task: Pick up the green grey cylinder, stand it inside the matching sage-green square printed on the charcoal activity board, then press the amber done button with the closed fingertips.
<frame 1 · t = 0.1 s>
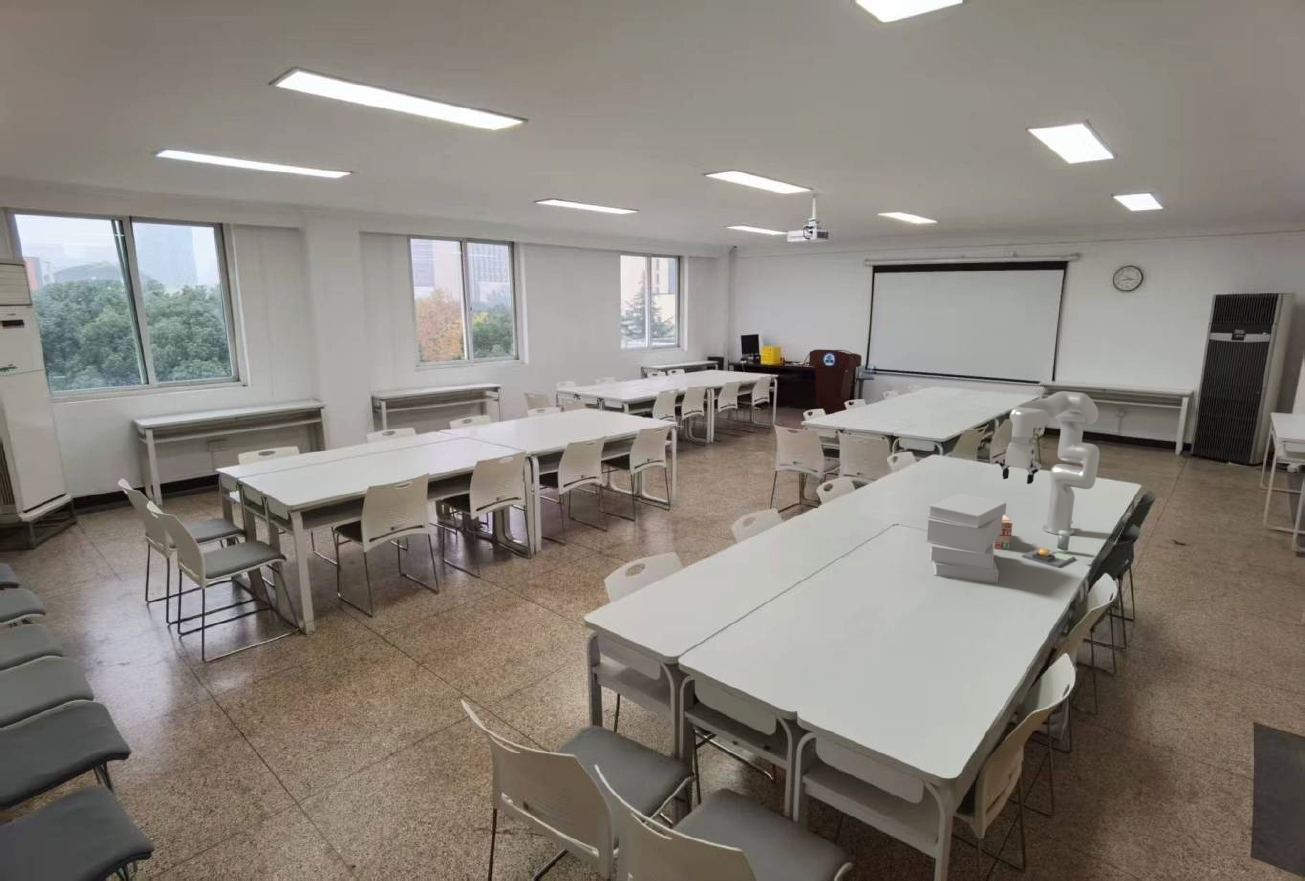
hand: (1017, 481, 271), 31 cm above the table, tool pointing down, fingers open, 9 cm apart
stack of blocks: (994, 541, 291), on the table
board: (1048, 558, 270), on the table
book stack: (961, 564, 265), on the table
green grey cylinder: (1062, 551, 277), on the table
done button: (1044, 552, 267), point 3 cm above the table, slide at 0.0 cm
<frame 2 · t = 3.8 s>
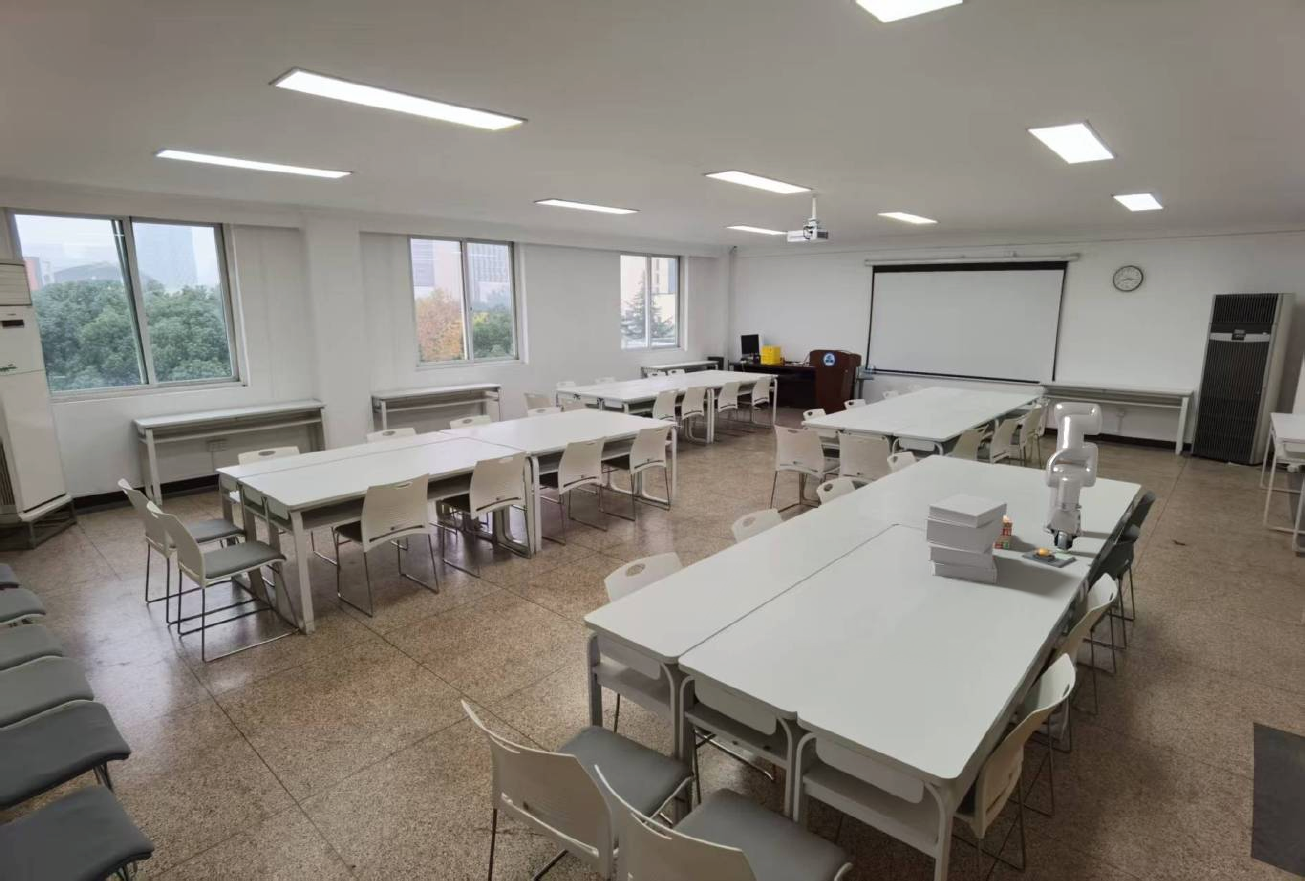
hand: (1062, 546, 277), 2 cm above the table, tool pointing down, fingers closed on green grey cylinder, 3 cm apart
green grey cylinder: (1062, 551, 277), on the table, touching gripper
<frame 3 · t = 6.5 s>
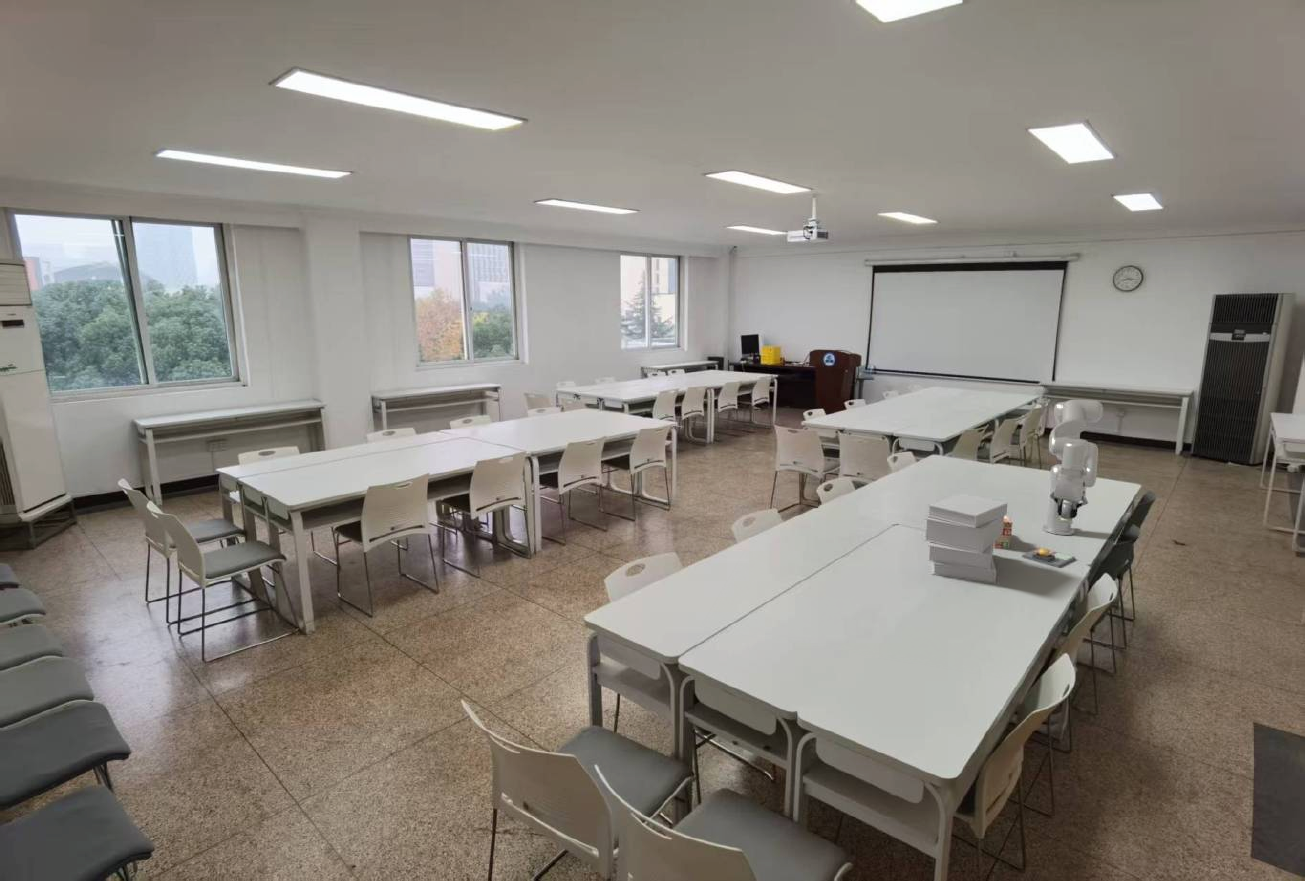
hand: (1066, 515, 266), 18 cm above the table, tool pointing down, fingers closed on green grey cylinder, 3 cm apart
green grey cylinder: (1066, 521, 266), point 16 cm above the table, touching gripper
when the fingers open (4 cm above the table, at t = 9.3 s): green grey cylinder stays where it is, resting on board.
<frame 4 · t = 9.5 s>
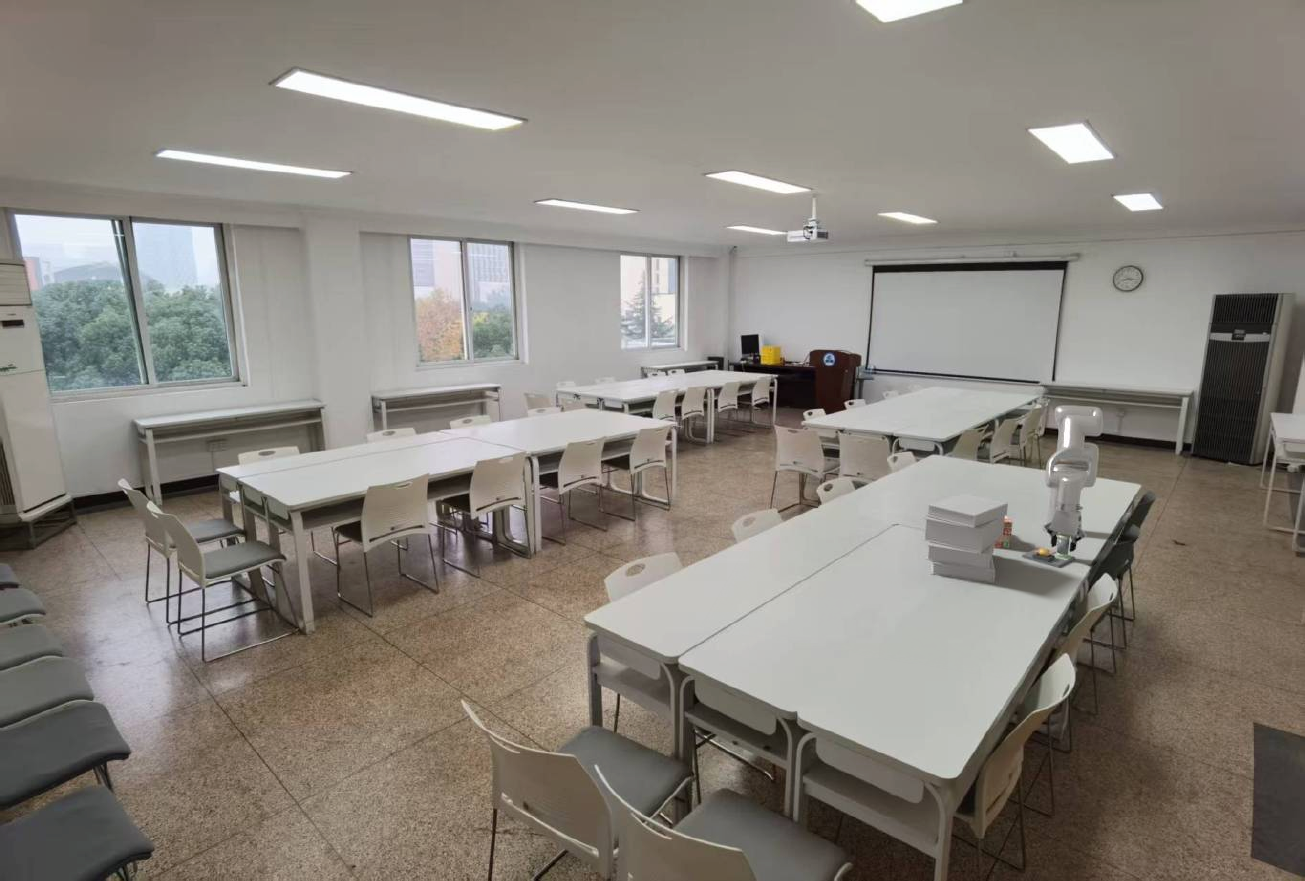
hand: (1062, 548, 269), 5 cm above the table, tool pointing down, fingers open, 6 cm apart
green grey cylinder: (1061, 556, 269), point 1 cm above the table, touching board
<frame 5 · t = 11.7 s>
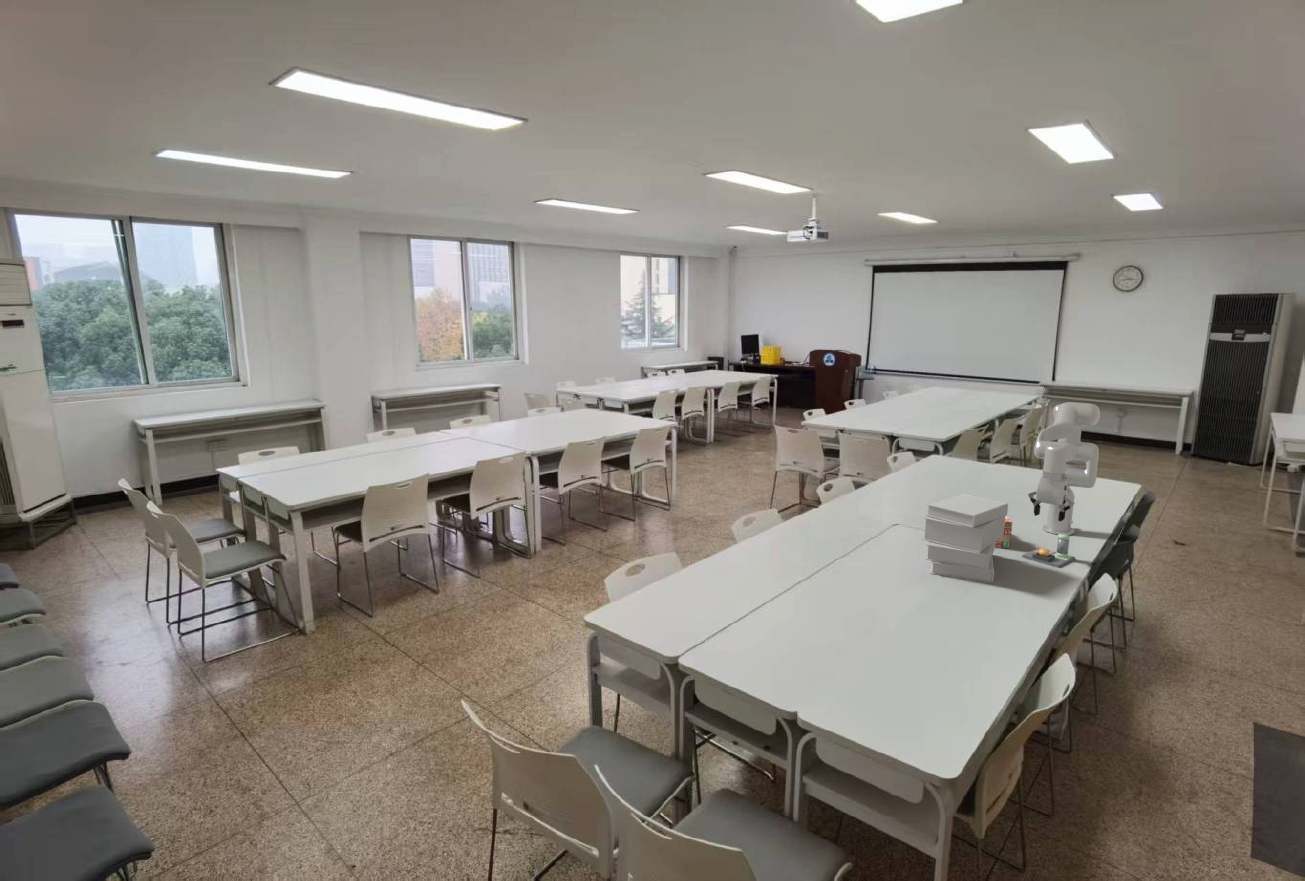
hand: (1048, 517, 264), 18 cm above the table, tool pointing down, fingers open, 8 cm apart
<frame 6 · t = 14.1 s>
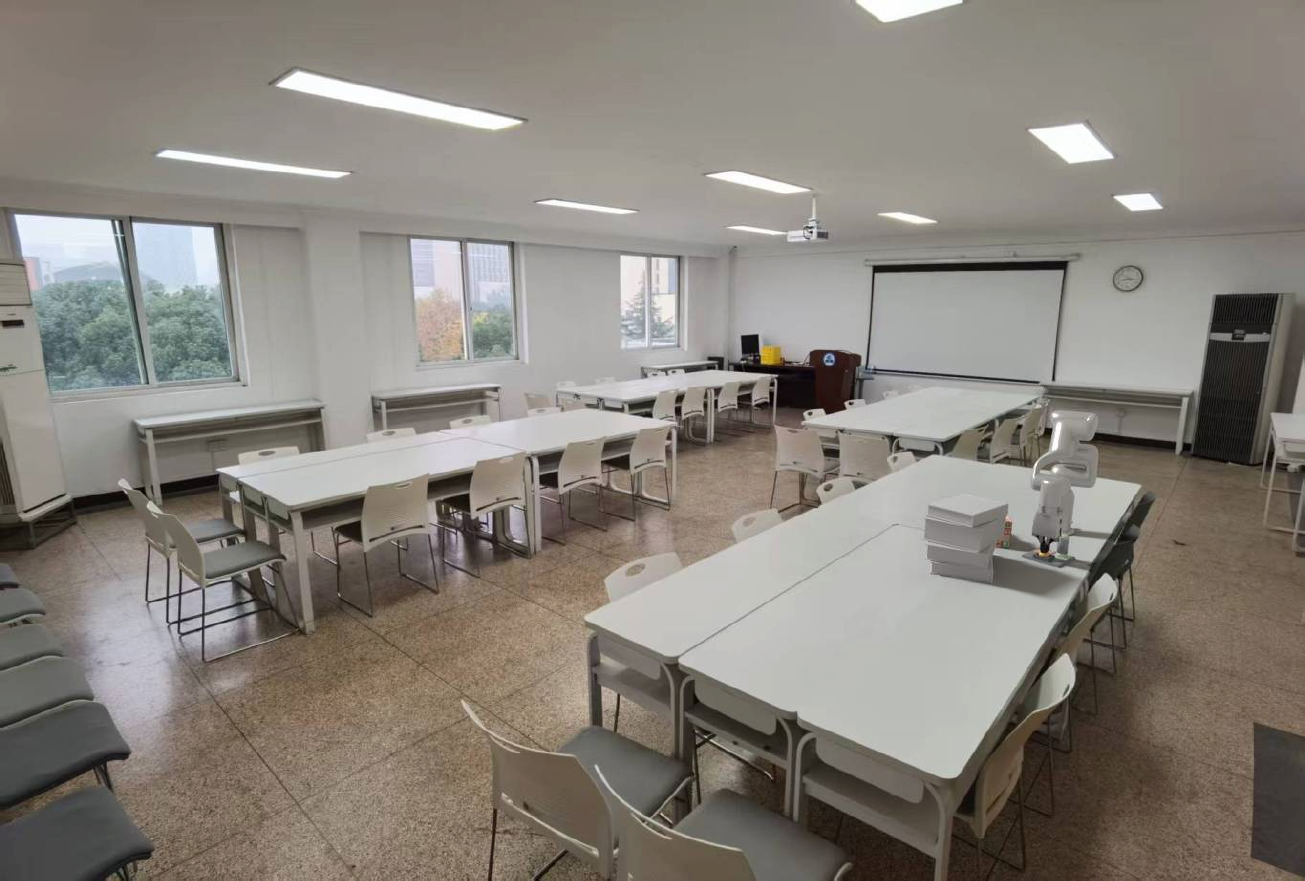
hand: (1044, 552, 267), 4 cm above the table, tool pointing down, fingers closed
done button: (1043, 554, 267), point 3 cm above the table, slide at 0.8 cm, touching gripper
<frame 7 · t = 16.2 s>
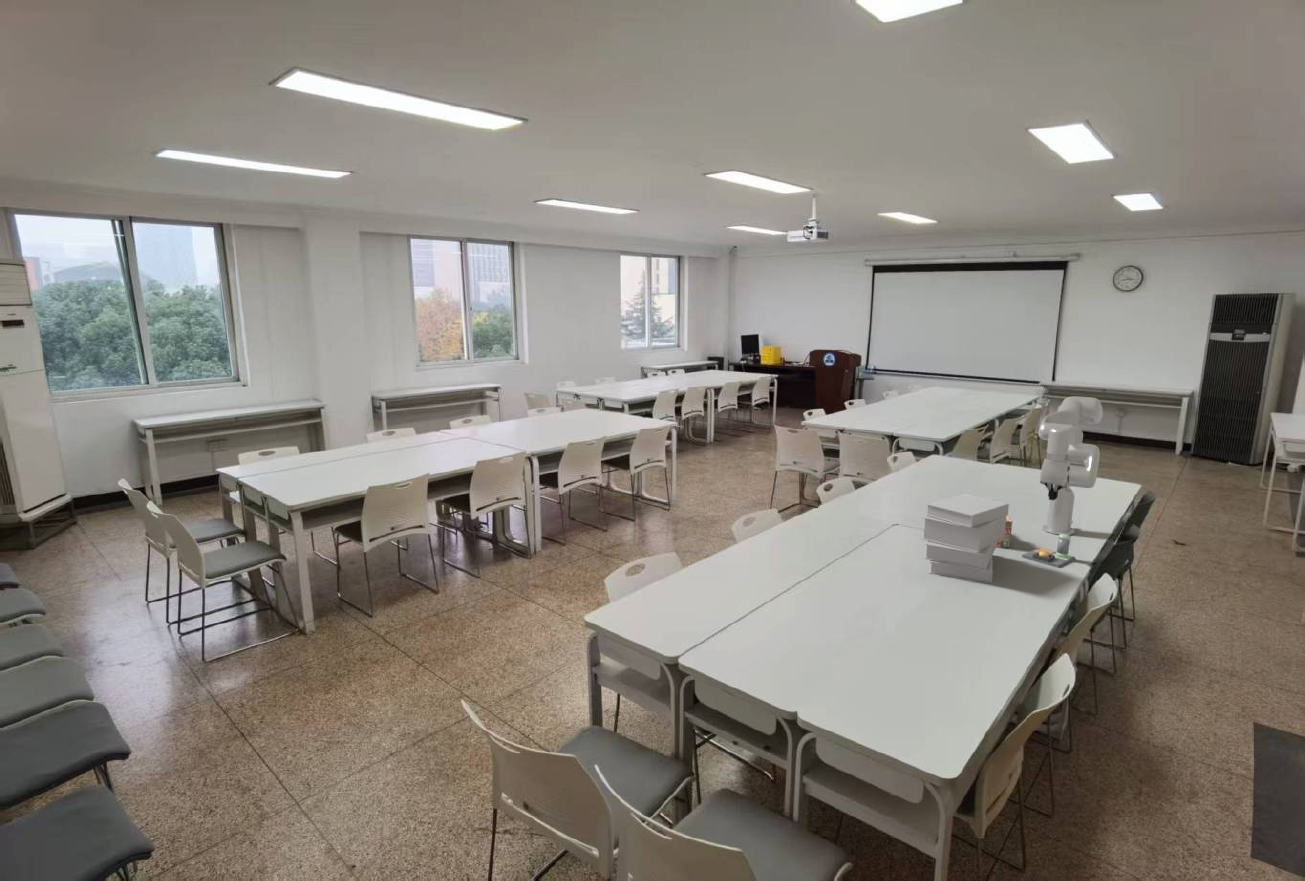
hand: (1052, 499, 275), 23 cm above the table, tool pointing down, fingers closed
done button: (1043, 555, 267), point 2 cm above the table, slide at 1.0 cm
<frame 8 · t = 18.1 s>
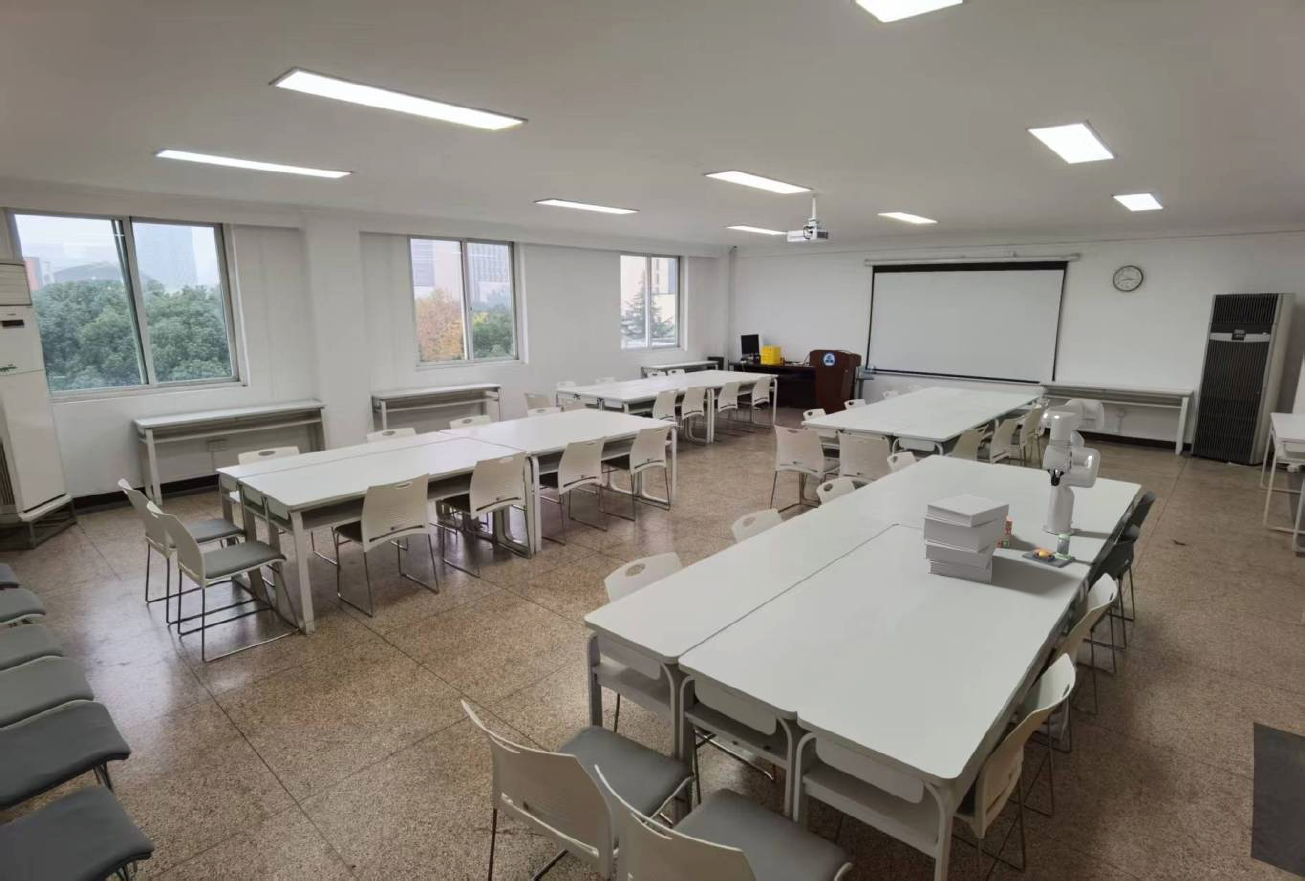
hand: (1054, 485, 279), 27 cm above the table, tool pointing down, fingers closed
at the end: green grey cylinder 0.0 cm from the target spot, point 1.2 cm above the table; green grey cylinder tilted 2°; done button slide at 1.0 cm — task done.
